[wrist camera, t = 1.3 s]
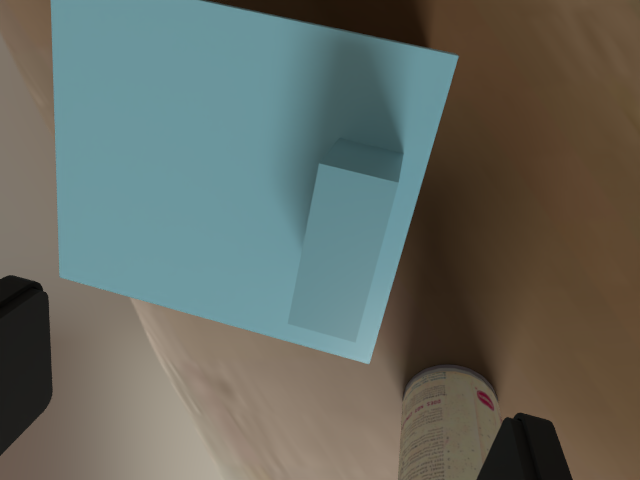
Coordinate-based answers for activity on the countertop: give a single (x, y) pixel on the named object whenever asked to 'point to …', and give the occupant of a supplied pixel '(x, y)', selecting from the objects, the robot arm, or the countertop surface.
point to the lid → (240, 163)
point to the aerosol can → (447, 424)
